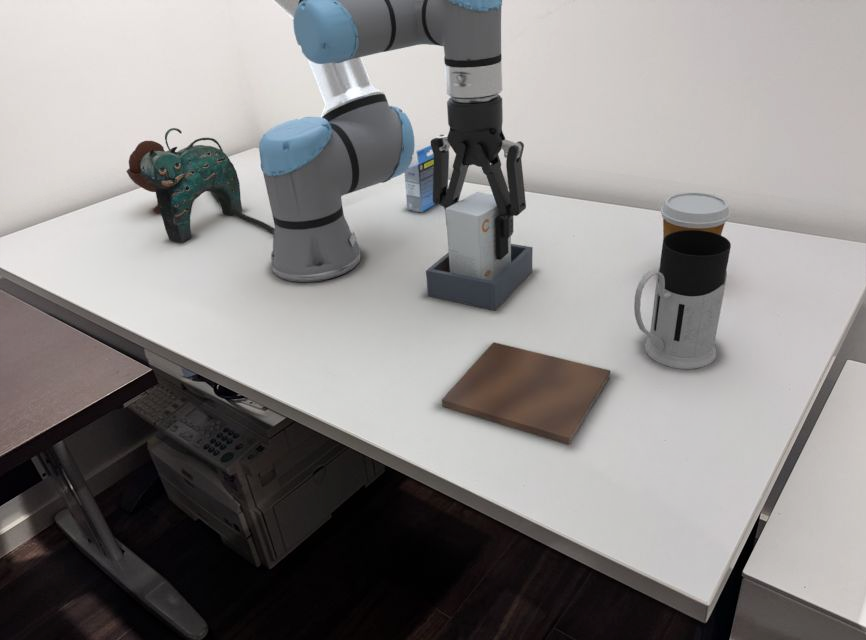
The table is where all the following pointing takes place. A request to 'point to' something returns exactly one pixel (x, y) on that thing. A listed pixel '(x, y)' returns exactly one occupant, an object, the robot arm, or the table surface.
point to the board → (528, 391)
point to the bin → (479, 281)
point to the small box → (474, 237)
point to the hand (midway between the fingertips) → (480, 251)
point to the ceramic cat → (190, 182)
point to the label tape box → (420, 182)
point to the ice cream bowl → (135, 165)
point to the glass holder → (686, 299)
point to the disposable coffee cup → (694, 213)
